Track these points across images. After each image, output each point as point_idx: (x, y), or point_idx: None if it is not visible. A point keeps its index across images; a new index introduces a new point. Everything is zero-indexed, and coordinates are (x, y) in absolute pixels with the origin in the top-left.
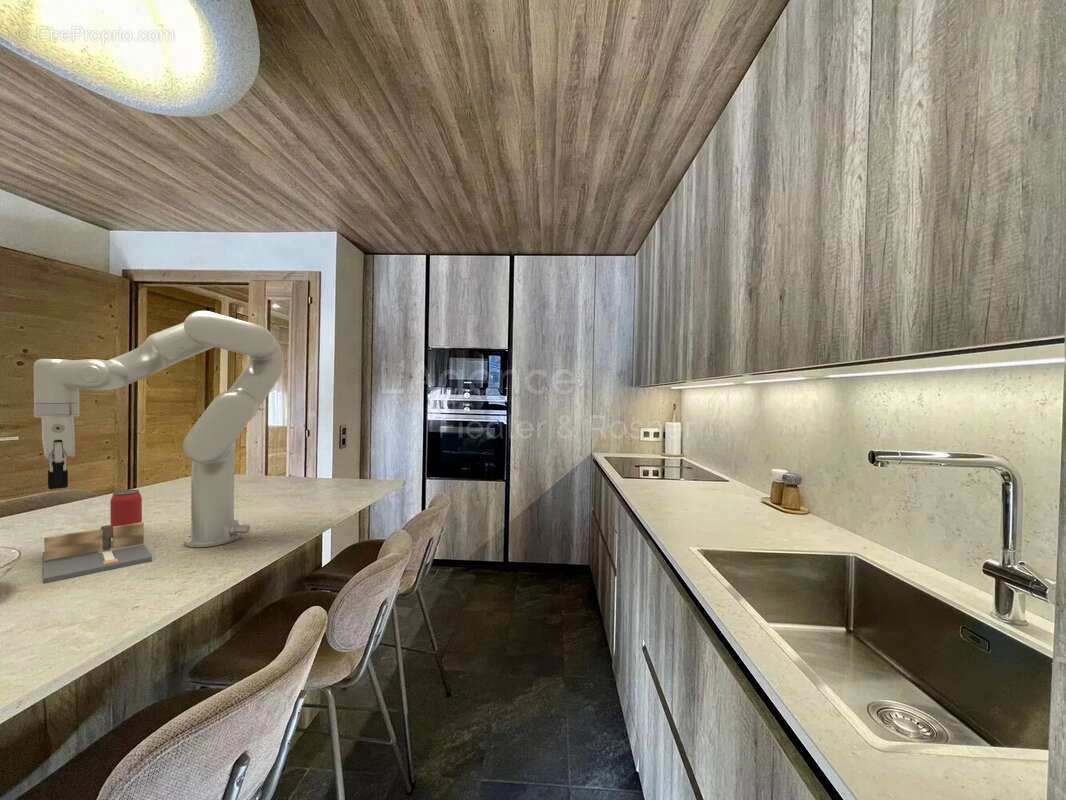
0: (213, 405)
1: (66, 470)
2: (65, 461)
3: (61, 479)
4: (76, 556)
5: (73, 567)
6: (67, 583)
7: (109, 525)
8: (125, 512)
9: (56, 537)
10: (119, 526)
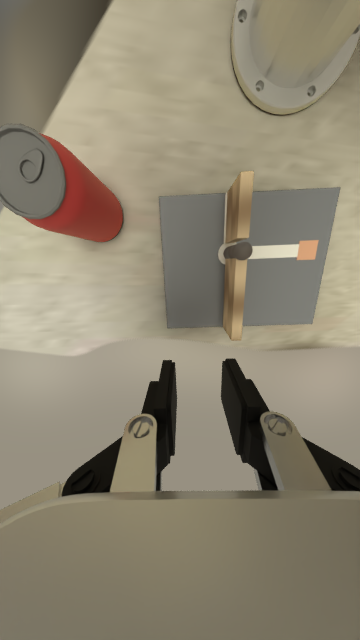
0: None
1: (165, 402)
2: (324, 483)
3: (259, 395)
4: None
5: (291, 295)
6: (335, 299)
7: (240, 244)
8: (102, 202)
9: (241, 325)
10: (246, 225)
